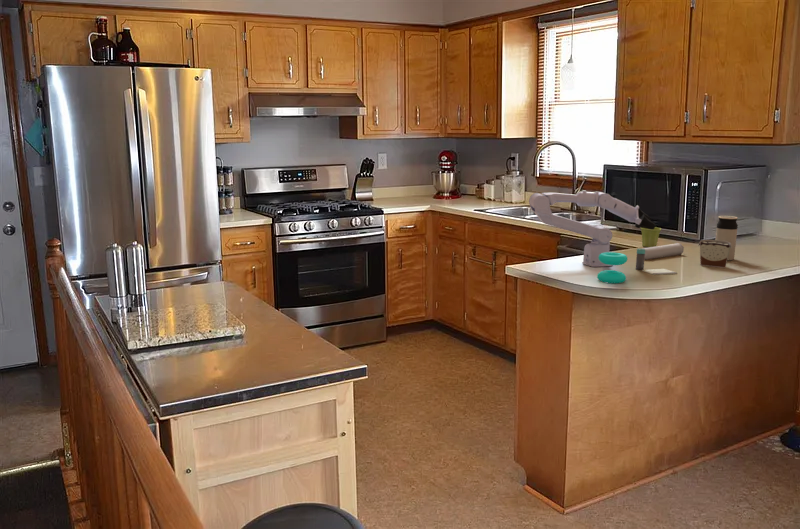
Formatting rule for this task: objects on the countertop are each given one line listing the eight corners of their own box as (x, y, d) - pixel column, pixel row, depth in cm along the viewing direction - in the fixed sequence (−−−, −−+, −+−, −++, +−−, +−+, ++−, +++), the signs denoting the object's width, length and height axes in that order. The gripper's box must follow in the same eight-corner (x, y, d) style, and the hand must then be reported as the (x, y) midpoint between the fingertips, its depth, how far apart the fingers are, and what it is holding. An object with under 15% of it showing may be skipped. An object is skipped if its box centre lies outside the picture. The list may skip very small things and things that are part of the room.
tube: (648, 251, 297) (685, 246, 310) (638, 246, 301) (676, 240, 314) (643, 263, 300) (681, 257, 313) (634, 257, 303) (671, 251, 317)
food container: (731, 265, 290) (733, 241, 288) (729, 268, 284) (732, 243, 282) (698, 262, 296) (701, 238, 294) (696, 264, 290) (698, 240, 288)
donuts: (600, 250, 263) (628, 252, 259) (598, 277, 265) (626, 279, 261) (597, 255, 253) (626, 257, 250) (595, 282, 255) (624, 285, 252)
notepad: (654, 275, 269) (654, 273, 269) (641, 270, 277) (642, 269, 277) (677, 273, 272) (677, 272, 272) (664, 269, 280) (664, 268, 280)
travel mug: (735, 261, 299) (739, 218, 296) (714, 259, 302) (718, 217, 298) (732, 257, 307) (737, 216, 303) (712, 256, 309) (716, 215, 306)
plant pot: (657, 245, 337) (659, 226, 335) (662, 248, 328) (663, 229, 326) (637, 244, 338) (638, 226, 337) (640, 247, 329) (642, 229, 327)
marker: (638, 270, 278) (640, 250, 276) (633, 268, 281) (635, 248, 280) (645, 269, 279) (647, 249, 277) (640, 268, 282) (642, 248, 280)
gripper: (632, 207, 276) (662, 221, 277) (623, 195, 289) (652, 209, 290) (622, 222, 278) (652, 236, 280) (614, 210, 292) (643, 223, 293)
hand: (652, 223), depth 285 cm, fingers open, 7 cm apart
